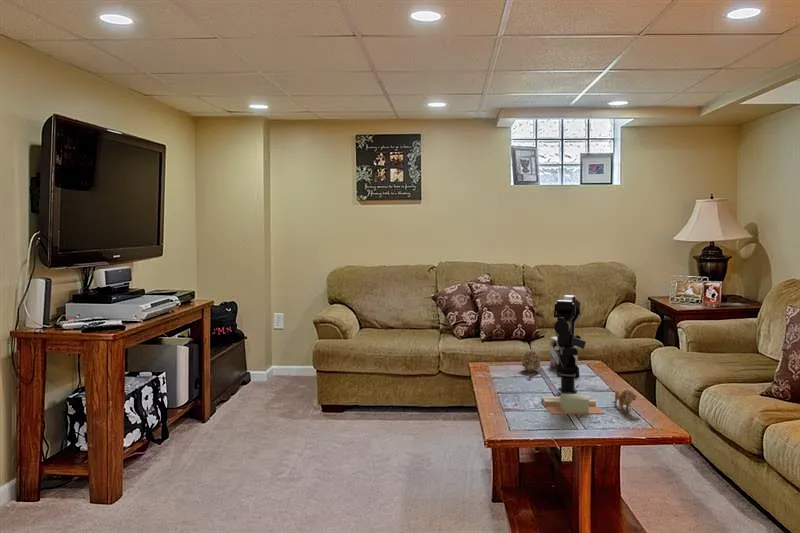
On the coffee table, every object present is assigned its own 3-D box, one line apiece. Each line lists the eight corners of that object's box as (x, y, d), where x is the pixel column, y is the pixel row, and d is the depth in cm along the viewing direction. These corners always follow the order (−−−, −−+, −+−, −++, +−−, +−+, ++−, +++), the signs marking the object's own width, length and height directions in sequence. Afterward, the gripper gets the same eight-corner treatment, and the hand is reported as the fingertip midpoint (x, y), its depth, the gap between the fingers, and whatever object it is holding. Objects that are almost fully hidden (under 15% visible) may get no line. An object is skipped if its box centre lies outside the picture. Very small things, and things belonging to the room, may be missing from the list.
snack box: (549, 365, 312) (549, 336, 311) (559, 365, 313) (559, 336, 312) (567, 375, 291) (568, 344, 290) (578, 374, 292) (578, 343, 291)
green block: (560, 394, 239) (565, 399, 232) (583, 394, 239) (588, 399, 232) (560, 406, 239) (565, 412, 232) (583, 406, 239) (588, 412, 232)
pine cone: (519, 367, 308) (520, 348, 308) (539, 368, 307) (539, 348, 306) (522, 378, 286) (522, 357, 286) (543, 378, 285) (543, 357, 284)
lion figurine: (638, 414, 230) (638, 391, 229) (625, 415, 229) (625, 391, 228) (618, 403, 244) (619, 381, 244) (606, 404, 243) (606, 382, 243)
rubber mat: (545, 406, 240) (545, 406, 240) (596, 406, 240) (596, 405, 240) (551, 414, 231) (551, 413, 231) (604, 413, 231) (604, 413, 231)
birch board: (541, 401, 248) (541, 396, 248) (590, 401, 248) (590, 396, 247) (545, 406, 241) (545, 401, 241) (595, 406, 241) (595, 401, 240)
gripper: (591, 334, 240) (590, 373, 240) (577, 326, 258) (577, 363, 259) (562, 334, 240) (562, 373, 241) (551, 327, 258) (551, 363, 259)
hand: (564, 368), depth 250 cm, fingers closed
